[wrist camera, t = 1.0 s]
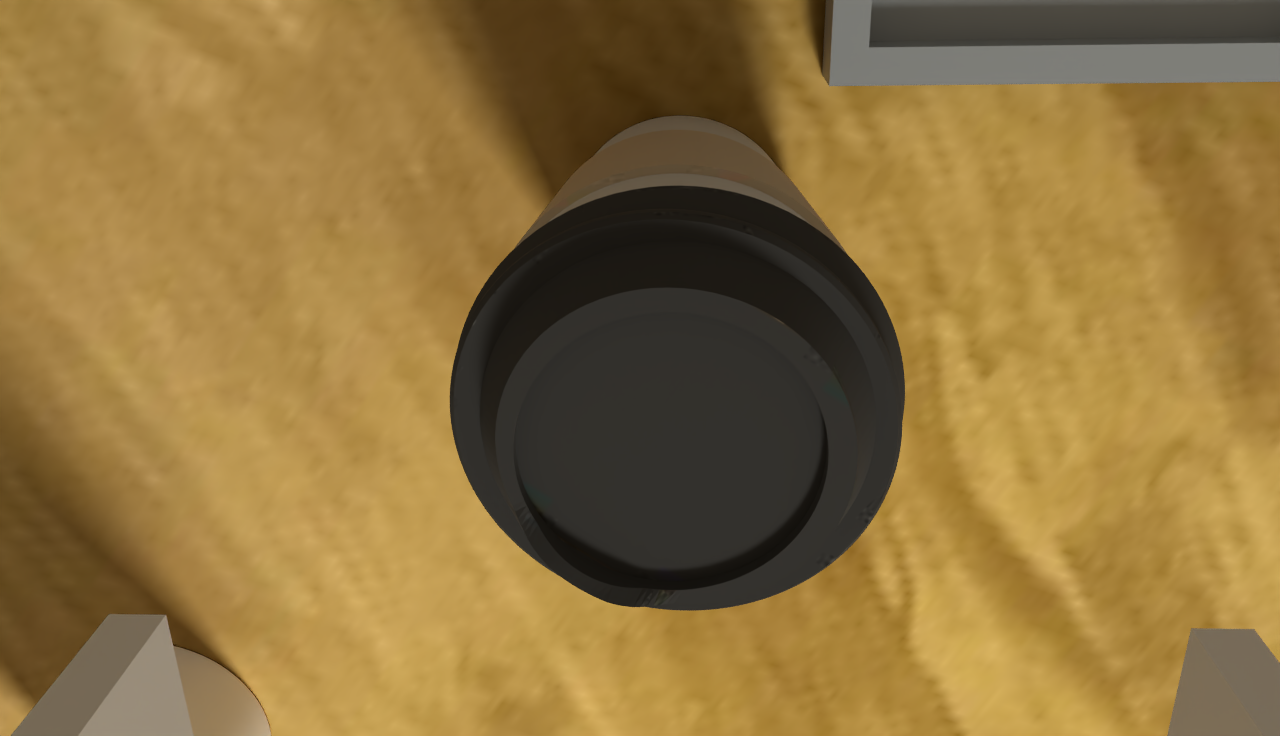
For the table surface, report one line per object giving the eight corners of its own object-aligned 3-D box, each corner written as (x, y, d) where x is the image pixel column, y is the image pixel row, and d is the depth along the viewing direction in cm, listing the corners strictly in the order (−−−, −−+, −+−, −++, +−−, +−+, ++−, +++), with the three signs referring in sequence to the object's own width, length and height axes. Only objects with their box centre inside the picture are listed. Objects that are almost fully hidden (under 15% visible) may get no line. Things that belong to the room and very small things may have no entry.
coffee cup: (646, 11, 31) (608, 114, 17) (894, 193, 33) (1038, 418, 19) (479, 259, 34) (336, 513, 21) (714, 413, 36) (726, 740, 22)
